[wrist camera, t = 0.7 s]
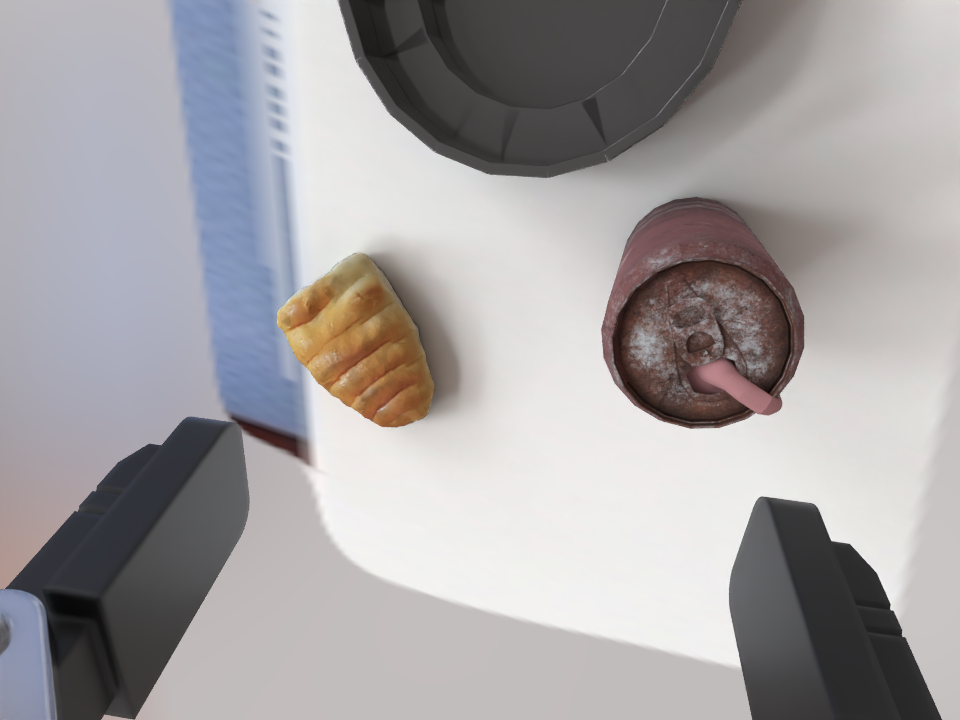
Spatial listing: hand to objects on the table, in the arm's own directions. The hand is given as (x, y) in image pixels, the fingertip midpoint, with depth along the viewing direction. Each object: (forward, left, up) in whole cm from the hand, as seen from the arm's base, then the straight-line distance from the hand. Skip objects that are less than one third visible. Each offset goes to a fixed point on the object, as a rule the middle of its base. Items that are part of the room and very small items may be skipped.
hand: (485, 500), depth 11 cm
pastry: (+9, -10, -26) cm, 30 cm away
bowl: (-10, -7, -26) cm, 29 cm away
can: (-1, +4, -26) cm, 27 cm away
